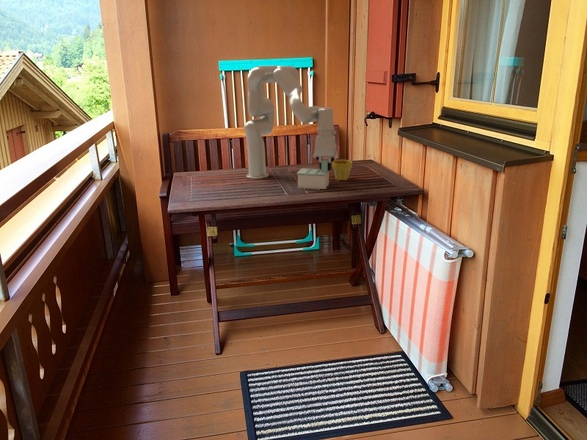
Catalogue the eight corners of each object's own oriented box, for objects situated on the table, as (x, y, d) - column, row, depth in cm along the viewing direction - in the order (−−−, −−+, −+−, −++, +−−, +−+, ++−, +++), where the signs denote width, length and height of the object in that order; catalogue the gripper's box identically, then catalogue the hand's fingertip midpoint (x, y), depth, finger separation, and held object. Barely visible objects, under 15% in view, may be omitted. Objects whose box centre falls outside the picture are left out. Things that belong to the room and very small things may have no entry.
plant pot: (349, 182, 241) (349, 164, 237) (330, 181, 244) (330, 163, 241) (353, 177, 250) (353, 160, 247) (335, 176, 253) (335, 159, 250)
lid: (301, 171, 239) (301, 156, 236) (330, 172, 235) (330, 157, 233) (296, 176, 229) (296, 160, 227) (326, 177, 226) (326, 161, 223)
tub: (302, 183, 240) (302, 170, 238) (328, 184, 237) (328, 171, 235) (298, 188, 231) (297, 175, 229) (325, 189, 228) (325, 175, 226)
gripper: (343, 132, 225) (342, 169, 231) (310, 131, 229) (310, 168, 235) (340, 134, 219) (340, 172, 225) (307, 134, 223) (307, 171, 229)
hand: (325, 169), depth 230 cm, fingers closed on lid, 3 cm apart
